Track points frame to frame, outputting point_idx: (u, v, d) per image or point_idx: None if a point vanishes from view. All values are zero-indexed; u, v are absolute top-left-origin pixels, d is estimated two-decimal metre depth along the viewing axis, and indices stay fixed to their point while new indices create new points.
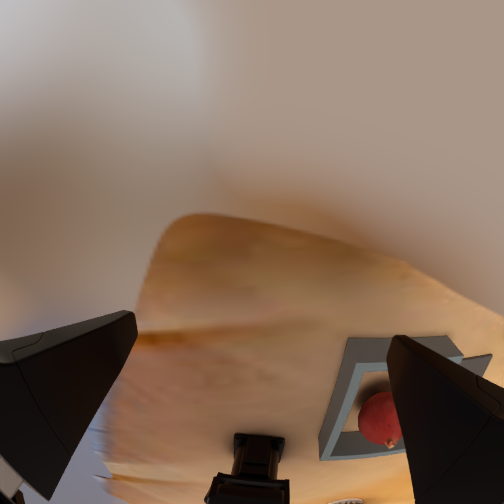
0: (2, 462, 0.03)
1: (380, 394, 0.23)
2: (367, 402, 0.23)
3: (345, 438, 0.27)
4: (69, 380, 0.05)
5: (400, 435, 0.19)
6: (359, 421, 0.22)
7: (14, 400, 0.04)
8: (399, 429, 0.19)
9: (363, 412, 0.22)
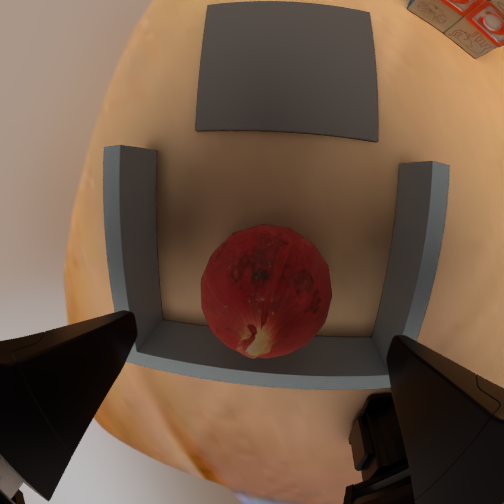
0: (2, 462, 0.03)
1: None
2: None
3: (384, 315, 0.15)
4: (69, 380, 0.05)
5: (248, 303, 0.09)
6: None
7: (13, 399, 0.04)
8: (225, 308, 0.09)
9: None
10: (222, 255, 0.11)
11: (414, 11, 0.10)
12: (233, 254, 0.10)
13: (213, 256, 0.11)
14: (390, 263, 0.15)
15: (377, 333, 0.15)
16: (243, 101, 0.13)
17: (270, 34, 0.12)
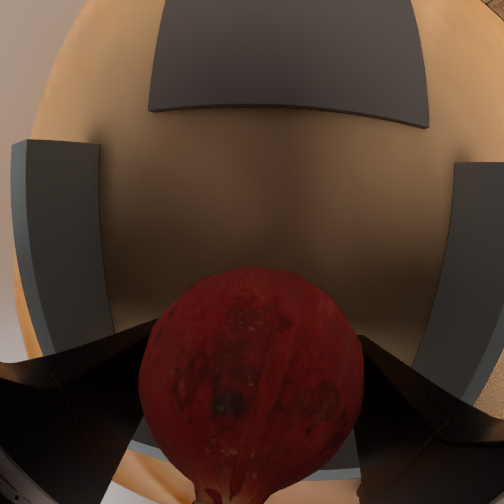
0: (40, 494, 0.02)
1: None
2: None
3: None
4: (113, 398, 0.05)
5: (205, 453, 0.04)
6: None
7: (55, 427, 0.03)
8: (168, 443, 0.04)
9: None
10: (163, 337, 0.05)
11: None
12: (180, 344, 0.05)
13: (154, 330, 0.06)
14: (436, 309, 0.09)
15: None
16: (220, 62, 0.08)
17: None
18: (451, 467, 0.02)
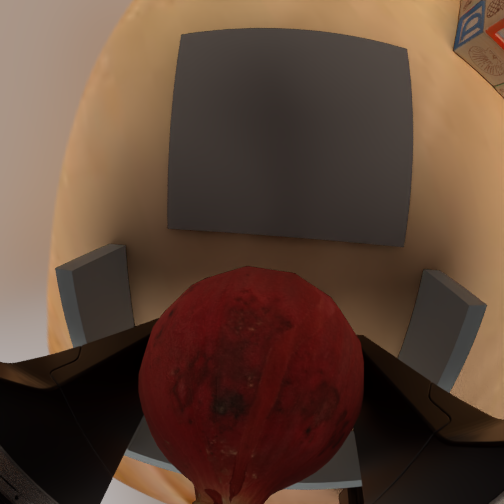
0: (40, 494, 0.02)
1: None
2: None
3: None
4: (113, 398, 0.05)
5: (205, 453, 0.04)
6: None
7: (55, 428, 0.03)
8: (168, 444, 0.04)
9: None
10: (164, 337, 0.05)
11: (462, 55, 0.07)
12: (180, 344, 0.05)
13: (154, 330, 0.06)
14: None
15: None
16: (228, 191, 0.11)
17: (268, 83, 0.09)
18: (451, 466, 0.02)
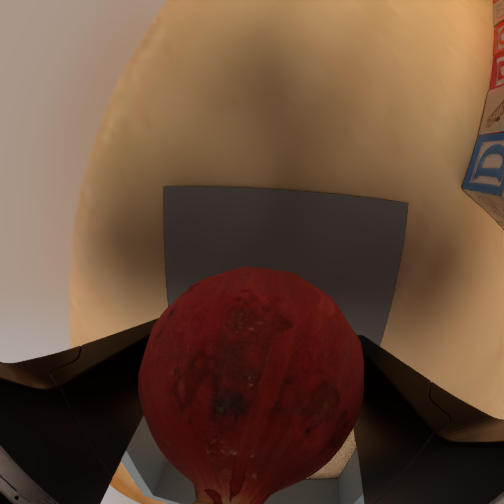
0: (40, 494, 0.02)
1: None
2: None
3: (346, 477, 0.14)
4: (113, 398, 0.05)
5: (205, 453, 0.04)
6: None
7: (55, 428, 0.03)
8: (167, 444, 0.04)
9: None
10: (163, 338, 0.05)
11: (470, 194, 0.09)
12: (180, 344, 0.05)
13: (154, 330, 0.06)
14: None
15: (341, 482, 0.14)
16: None
17: (256, 261, 0.11)
18: (451, 467, 0.02)
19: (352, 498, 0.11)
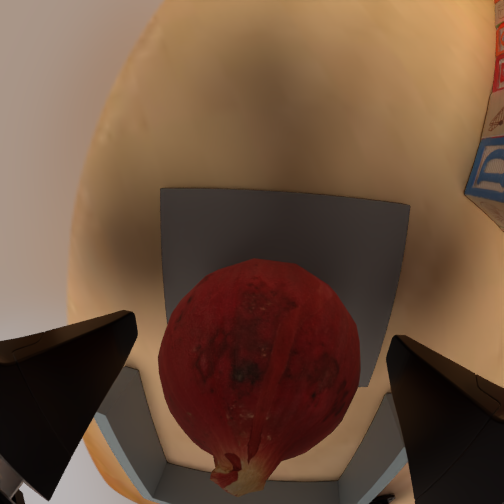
0: (2, 462, 0.03)
1: None
2: None
3: (346, 480, 0.14)
4: (69, 380, 0.05)
5: (225, 419, 0.04)
6: None
7: (13, 399, 0.04)
8: (189, 416, 0.05)
9: None
10: (184, 321, 0.06)
11: (473, 200, 0.09)
12: (200, 325, 0.06)
13: (173, 316, 0.07)
14: (358, 453, 0.14)
15: (341, 484, 0.14)
16: None
17: None
18: None
19: (352, 501, 0.11)
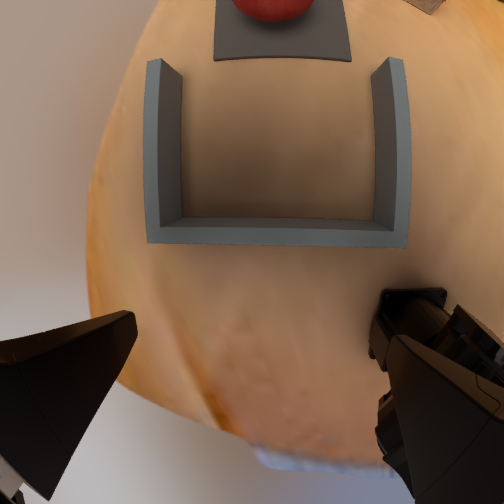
0: (2, 462, 0.03)
1: None
2: (251, 16, 0.13)
3: (380, 190, 0.17)
4: (69, 380, 0.05)
5: None
6: (277, 12, 0.12)
7: (13, 399, 0.04)
8: None
9: (258, 14, 0.12)
10: None
11: None
12: None
13: None
14: (377, 148, 0.17)
15: (377, 211, 0.18)
16: (249, 38, 0.15)
17: None
18: None
19: (393, 180, 0.14)
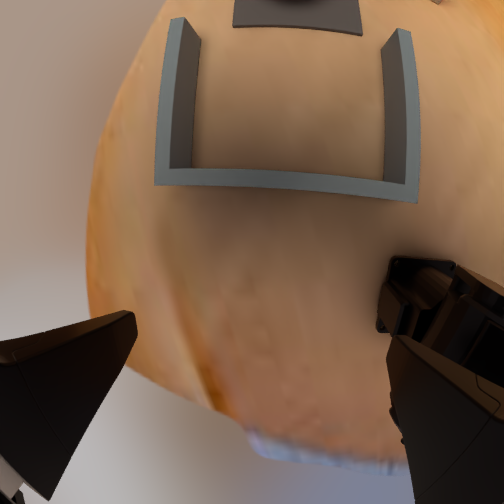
0: (2, 462, 0.03)
1: None
2: None
3: (389, 151, 0.16)
4: (69, 380, 0.05)
5: None
6: None
7: (13, 399, 0.04)
8: None
9: None
10: None
11: None
12: None
13: None
14: (386, 113, 0.16)
15: (387, 172, 0.17)
16: (267, 10, 0.15)
17: None
18: None
19: (403, 136, 0.14)
